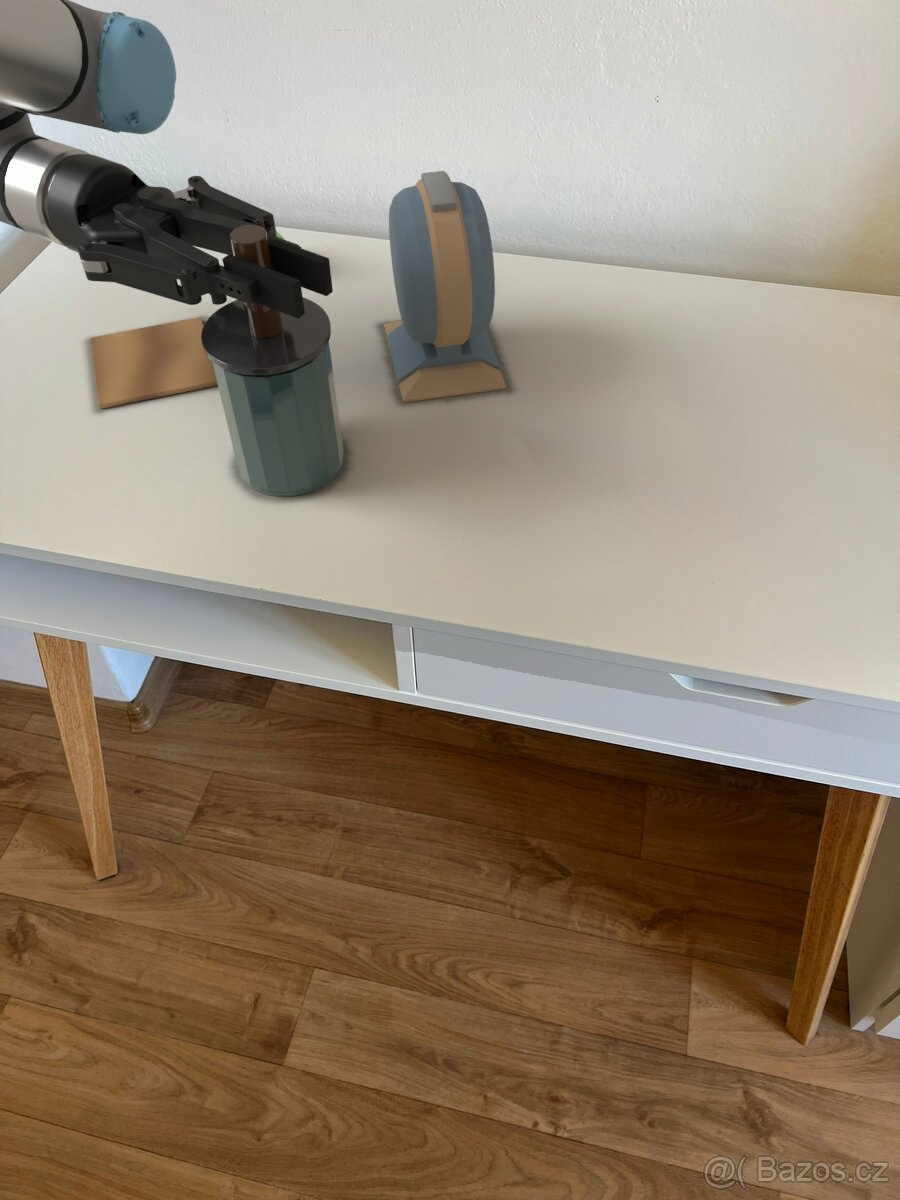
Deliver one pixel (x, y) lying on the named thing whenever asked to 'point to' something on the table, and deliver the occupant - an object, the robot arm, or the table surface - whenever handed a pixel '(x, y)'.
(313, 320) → the lid
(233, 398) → the jar
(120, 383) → the mat
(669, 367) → the table surface
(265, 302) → the robot arm
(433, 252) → the alarm clock
